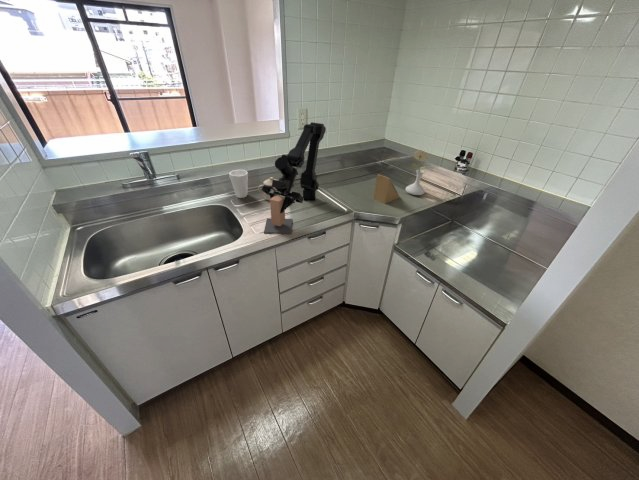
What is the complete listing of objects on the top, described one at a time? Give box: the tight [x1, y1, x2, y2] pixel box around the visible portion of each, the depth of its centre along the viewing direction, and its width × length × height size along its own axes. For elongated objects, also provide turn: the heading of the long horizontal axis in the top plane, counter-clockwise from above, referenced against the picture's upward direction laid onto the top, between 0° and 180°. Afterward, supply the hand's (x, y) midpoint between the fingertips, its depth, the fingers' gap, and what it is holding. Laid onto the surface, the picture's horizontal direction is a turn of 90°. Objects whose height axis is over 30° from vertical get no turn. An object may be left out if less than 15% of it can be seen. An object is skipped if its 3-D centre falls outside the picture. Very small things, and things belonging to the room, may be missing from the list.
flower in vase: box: [405, 149, 429, 196], centre depth 153 cm, size 13×11×25 cm
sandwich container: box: [372, 173, 401, 205], centre depth 148 cm, size 9×15×15 cm, turn 132°
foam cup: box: [228, 169, 249, 199], centre depth 142 cm, size 10×9×13 cm
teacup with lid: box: [257, 176, 281, 202], centre depth 142 cm, size 12×9×12 cm
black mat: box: [263, 218, 293, 235], centre depth 121 cm, size 12×12×1 cm
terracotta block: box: [269, 195, 286, 226], centre depth 117 cm, size 4×4×12 cm
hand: (276, 211), depth 116 cm, fingers closed on terracotta block, 4 cm apart
